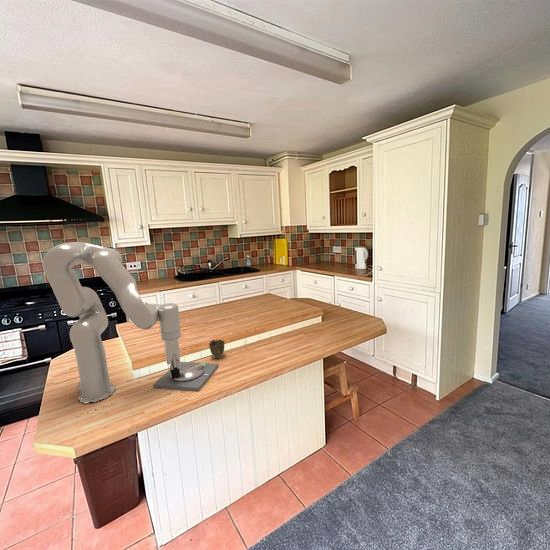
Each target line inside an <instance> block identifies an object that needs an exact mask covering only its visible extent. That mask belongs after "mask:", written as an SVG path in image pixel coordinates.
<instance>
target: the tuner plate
mask: <svg viewBox="0 0 550 550" xmlns="http://www.w3.org/2000/svg"><path fill="white" fill-rule="evenodd" d="M188 363H198V364H202V363H203V362H191V361H180V362H179V363H178V366H180V365H183V364H188ZM203 367H204V373H203V374H202V375H201V376H200V377H198V378H196V379H193V380H190V381H185V382H178V381H174V380H172V379H171V377H170V373H171V370H170V369H168V370H167V371H166V372H164V374H163V375H162V376H161V377H159V378H158V379H157V381H155V382H154V383H153V384H152V388H153V389H159V390H174V391H175V390H176V391H187V392H200V391H201V390H202V389H203V388H204V386H205V385H206V383H207V382H208V381H209V380H210V378H211V377H212V376H213V375H214V373H215V372H216V371H217V370H218V368H220V367H219V363H210V362H209V363H208V362H207V363H206V364H204V365H203ZM212 374H213V375H212Z"/></svg>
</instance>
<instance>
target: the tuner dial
mask: <svg viewBox="0 0 550 550" xmlns="http://www.w3.org/2000/svg"><path fill="white" fill-rule="evenodd" d="M172 362H173V361H172ZM198 363H199V362H196V363H188V364H183V365H180V366H179V372H180V377H178V378H174V379H172V376H171V373H170V377H171V379H172V380H174V381H178V382H185V381H190V380H193V379H196V378H198V377H200V376H201V375H202V374H203V373H204V367H203V365H204V364H206V363H208V362H207V361H205V362H201V363H202V364H198ZM172 365H173V364H172ZM169 366H171V364H169Z"/></svg>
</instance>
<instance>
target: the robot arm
mask: <svg viewBox="0 0 550 550" xmlns="http://www.w3.org/2000/svg"><path fill="white" fill-rule="evenodd" d="M122 262H123V257H122V255H121V253H120V252H119V251H118V250H116V249H114V248H109V247H106V246H101V245H96V244H92V243H87V242H83V241H73V242H64V243H60V244H57V245H55V246H53V247H51V248H50V249H49V250H47V252H46V253H45V255H44V256H43V259H42V270H43V273H44V275H45V277H46V278H47V281H48V283H49V285H50V286H51V288H52V291H53V294H54V296H55V297H56V300H57V303H58V304H59V307H60V309H61V311H62V312H63V314H64V315H66V316H68V317H71V318H76V317H77V318H79V319H78V320H76V321H75V322H74V323H73V325H72V326H71V327H70V330H69V339H70V342H71V343H72V344H71V345H72V347H73V349H74V354H75V359H76V363H77V369H78V375H79V379H80V381H78V383H77V385H76V386H75V390H76V391H80V392H79V395H78V396H77V399H78V401H79V400H80V401H82V402H94V403H97V402H96V401H98V402H100V401H99V400H101V401H103V400H102V399H104V400H105V398H106V399H107V398H109V397H110V395H111V396H112V395H113V394H114V393H115V392H116V385H115V384H114V383H112V382H111V381H110V380H111V379H110V376H109V375H110V373H109V368H108V367H109V366H108V360H107V355H106V348H105V345H104V343H103V340H102V338H101V335H102V333H104V331H106V329H107V327H108V325H109V318H108V315H107V313H106V310H105V308H104V307H103V304H102V302H101V299H100V297H99V295H98V294H97V292H96V291H95V290H94V289H92V288H90V287H88V286H82V284H81V283H80V279H79V278H78V276H77V274H76V273H75V272H74V271H73V267H75V266H79V265H86V266H91V267H92V268H93V270H95V272H96V273H97V274H98V276H99V277H100V278H102V280H103V281H104V283H106V285H108V287H109V289H111V291H112V292H113V294H114V295H115V297H116V300H117V302H118V304H119V305H120V307H121V309H122V311H123V312H124V314H125V315H126V316H127V318H129V320H130V321H131V322H132V323H133V324H134V325H135V326H136V327H137V328H139V329H140V330H149V329H151V328H153V327H154V326H155V325H156V323H157V322H159V325H160V334H161V341H164V353H165V360H166V364H167V365H169V368H170V369H169V370H171V376H172V379H174V378H178V377H180V372H179V366H178V363H179V362H181V357H180V355H181V353H180V343H179V342H180V341H179V339H180V338H182V332H181V321H180V312H179V311H180V310H179V306H178V304H177V303H173V302H168V303H164V304H160V303H159V304H158V303H147V304H145V302H143V300H142V298H141V296H140V294H139V291H138V286H137V281H136V280H135V278H134V277H133V276H132V275H131V273H130V272H129V271H128V269H127V268H126V267H125V266H124V264H122ZM172 361H173V362H172ZM170 364H171V365H170ZM172 364H173V365H172ZM81 398H82V399H81ZM80 401H79V402H80Z"/></svg>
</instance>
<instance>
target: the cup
mask: <svg viewBox="0 0 550 550" xmlns="http://www.w3.org/2000/svg"><path fill="white" fill-rule="evenodd" d="M208 345H209V350H210V353H211V355H213V357H214V358H215V359H218V360H219V359H221V358H222V356H223V354H224V352H225V340H224V339H215V340H214V339H213V340H211V341H209V342H208Z"/></svg>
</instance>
